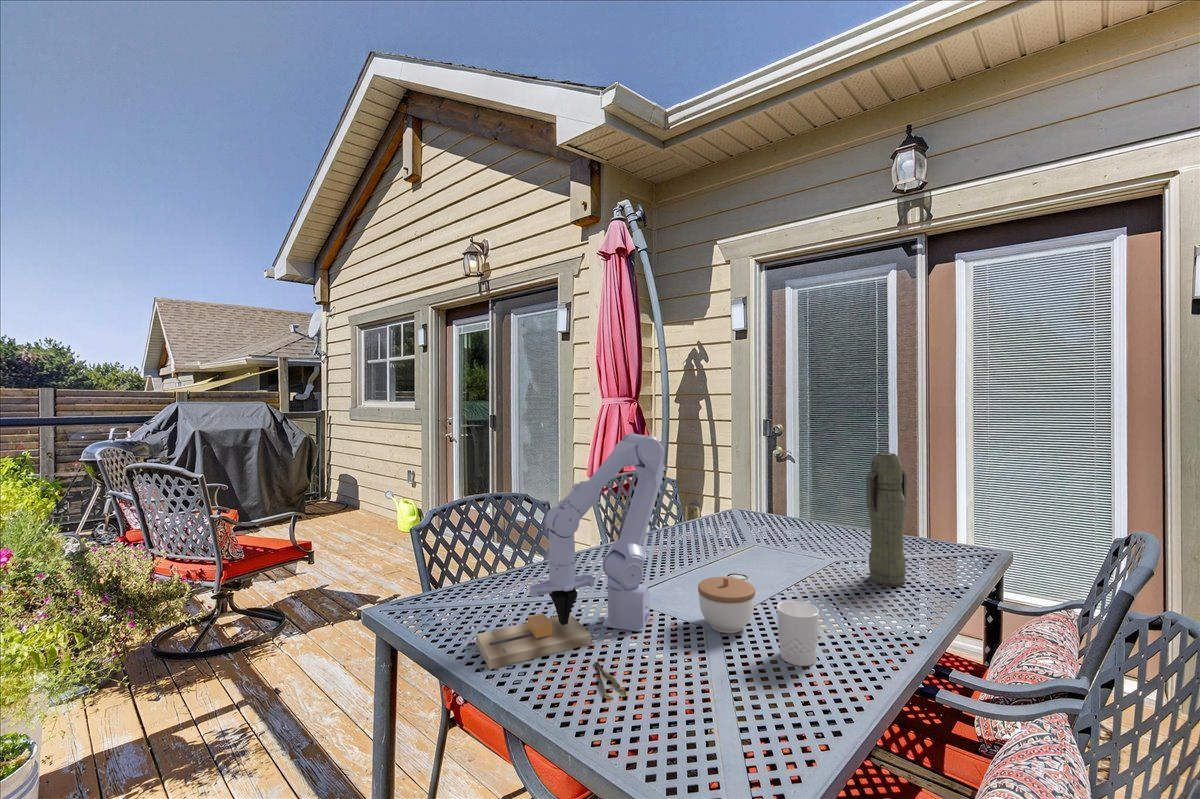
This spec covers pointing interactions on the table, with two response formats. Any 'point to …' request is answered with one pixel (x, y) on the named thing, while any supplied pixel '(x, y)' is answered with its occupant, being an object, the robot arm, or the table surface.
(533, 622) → the fader knob
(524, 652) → the fader panel
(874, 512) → the olive green statue
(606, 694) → the tongs
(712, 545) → the table surface
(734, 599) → the lidded bowl
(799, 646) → the white cup
